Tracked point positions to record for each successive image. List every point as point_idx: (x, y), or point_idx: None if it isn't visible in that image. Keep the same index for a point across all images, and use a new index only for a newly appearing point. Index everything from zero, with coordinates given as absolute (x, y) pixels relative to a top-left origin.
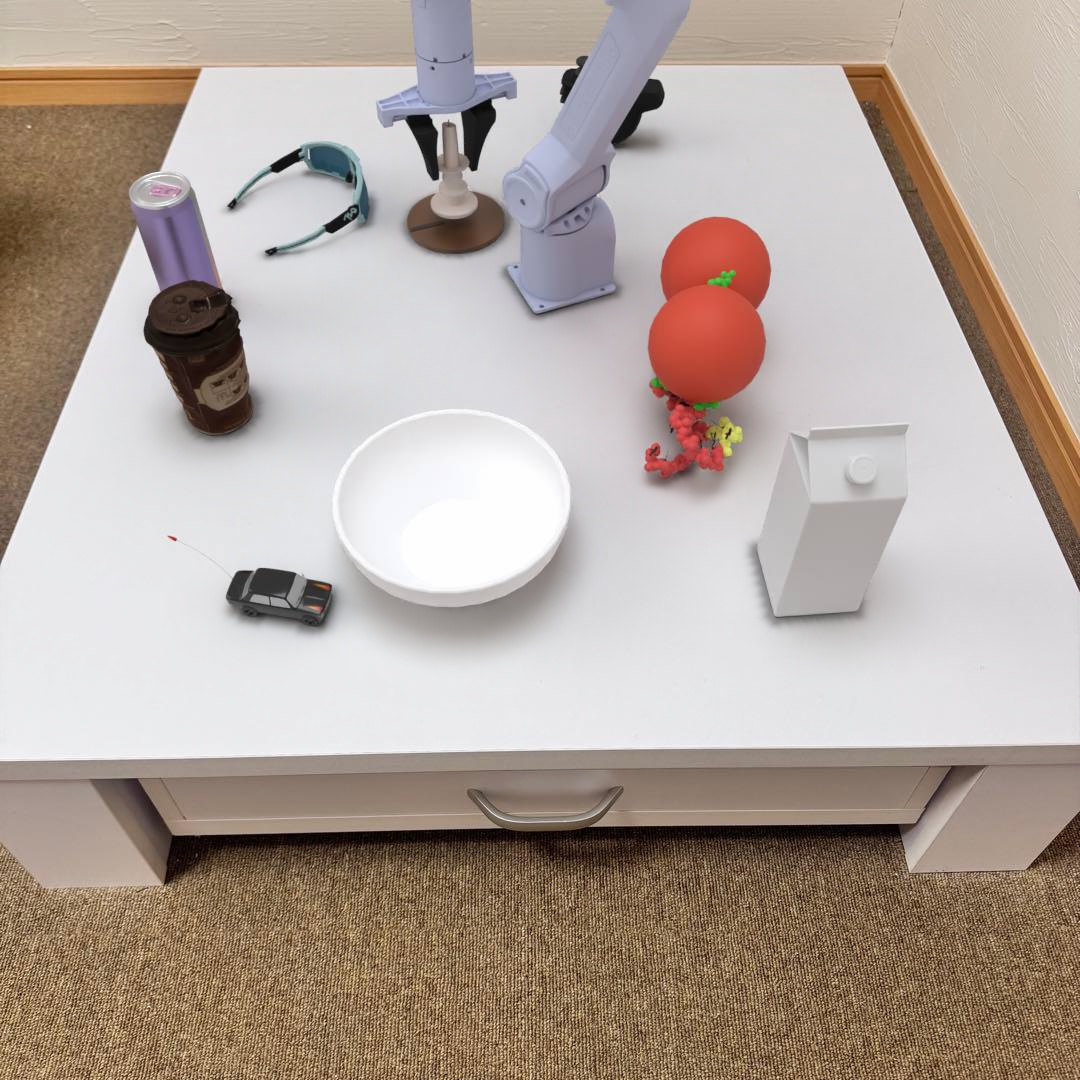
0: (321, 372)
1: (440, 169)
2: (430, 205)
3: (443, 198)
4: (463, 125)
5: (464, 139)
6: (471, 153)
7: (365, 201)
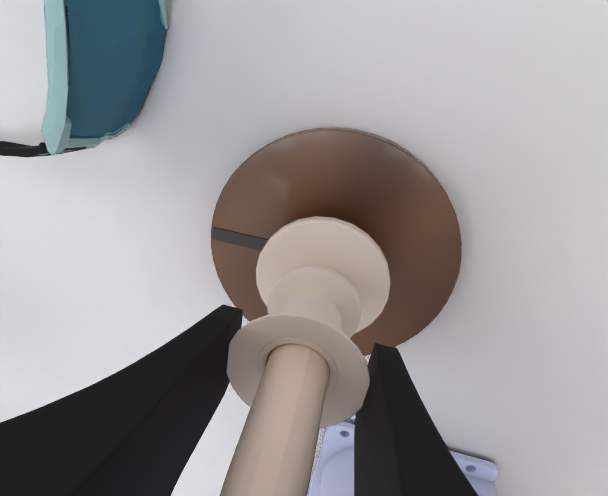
0: (3, 399)
1: (239, 378)
2: (301, 175)
3: (299, 260)
4: (392, 485)
5: (384, 415)
6: (359, 462)
7: (114, 103)
